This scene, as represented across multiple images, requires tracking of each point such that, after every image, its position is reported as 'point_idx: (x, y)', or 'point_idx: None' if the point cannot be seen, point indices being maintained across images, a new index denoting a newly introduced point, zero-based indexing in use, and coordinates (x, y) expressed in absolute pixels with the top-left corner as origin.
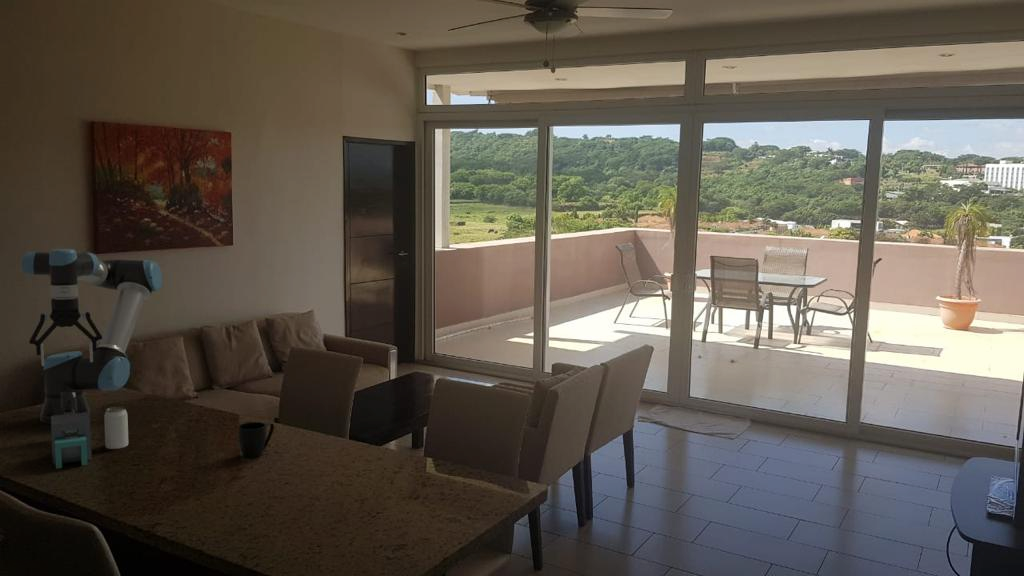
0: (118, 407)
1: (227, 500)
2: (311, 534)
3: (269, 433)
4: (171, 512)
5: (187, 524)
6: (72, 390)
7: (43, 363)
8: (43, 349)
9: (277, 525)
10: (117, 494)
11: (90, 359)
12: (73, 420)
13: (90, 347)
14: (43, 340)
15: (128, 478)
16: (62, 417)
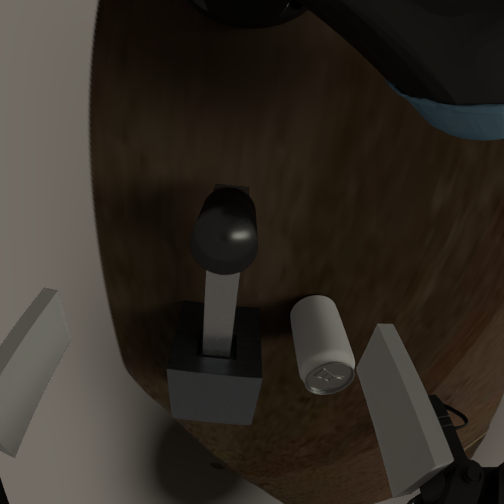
0: (344, 363)
1: (330, 473)
2: (338, 497)
3: (458, 415)
4: (283, 477)
5: (284, 487)
6: (244, 220)
7: (62, 349)
8: (23, 426)
9: (331, 492)
10: (253, 451)
11: (362, 383)
12: (217, 415)
13: (388, 459)
14: (2, 492)
15: (277, 429)
16: (194, 391)
